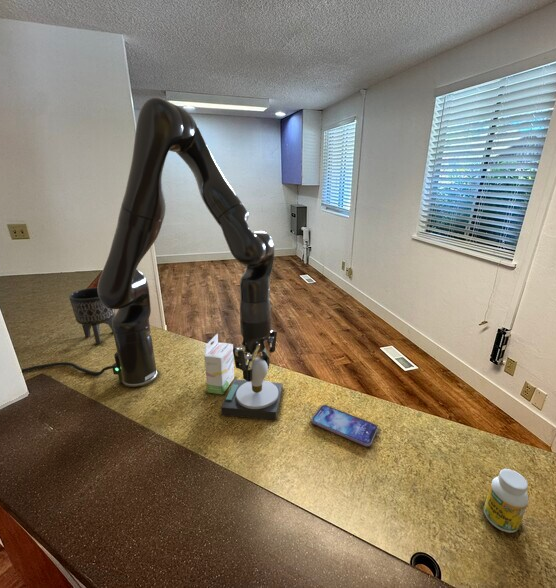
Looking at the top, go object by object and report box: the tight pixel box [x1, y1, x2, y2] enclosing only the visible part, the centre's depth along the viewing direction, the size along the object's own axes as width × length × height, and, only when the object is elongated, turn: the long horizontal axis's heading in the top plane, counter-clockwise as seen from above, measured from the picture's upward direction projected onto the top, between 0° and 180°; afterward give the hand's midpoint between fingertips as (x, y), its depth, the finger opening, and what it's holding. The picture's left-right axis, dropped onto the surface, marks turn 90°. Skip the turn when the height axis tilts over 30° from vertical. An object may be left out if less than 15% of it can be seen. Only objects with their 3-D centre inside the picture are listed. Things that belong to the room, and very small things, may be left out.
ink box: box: [204, 333, 235, 395], centre depth 86 cm, size 9×5×15 cm, turn 168°
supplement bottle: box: [483, 468, 529, 533], centre depth 53 cm, size 5×5×10 cm
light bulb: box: [246, 357, 269, 393], centre depth 80 cm, size 6×6×10 cm
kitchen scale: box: [220, 378, 283, 421], centre depth 82 cm, size 14×12×3 cm
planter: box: [68, 287, 116, 346], centre depth 111 cm, size 13×13×18 cm
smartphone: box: [311, 404, 378, 447], centre depth 75 cm, size 7×1×15 cm
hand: (256, 374), depth 79 cm, fingers closed on light bulb, 6 cm apart
